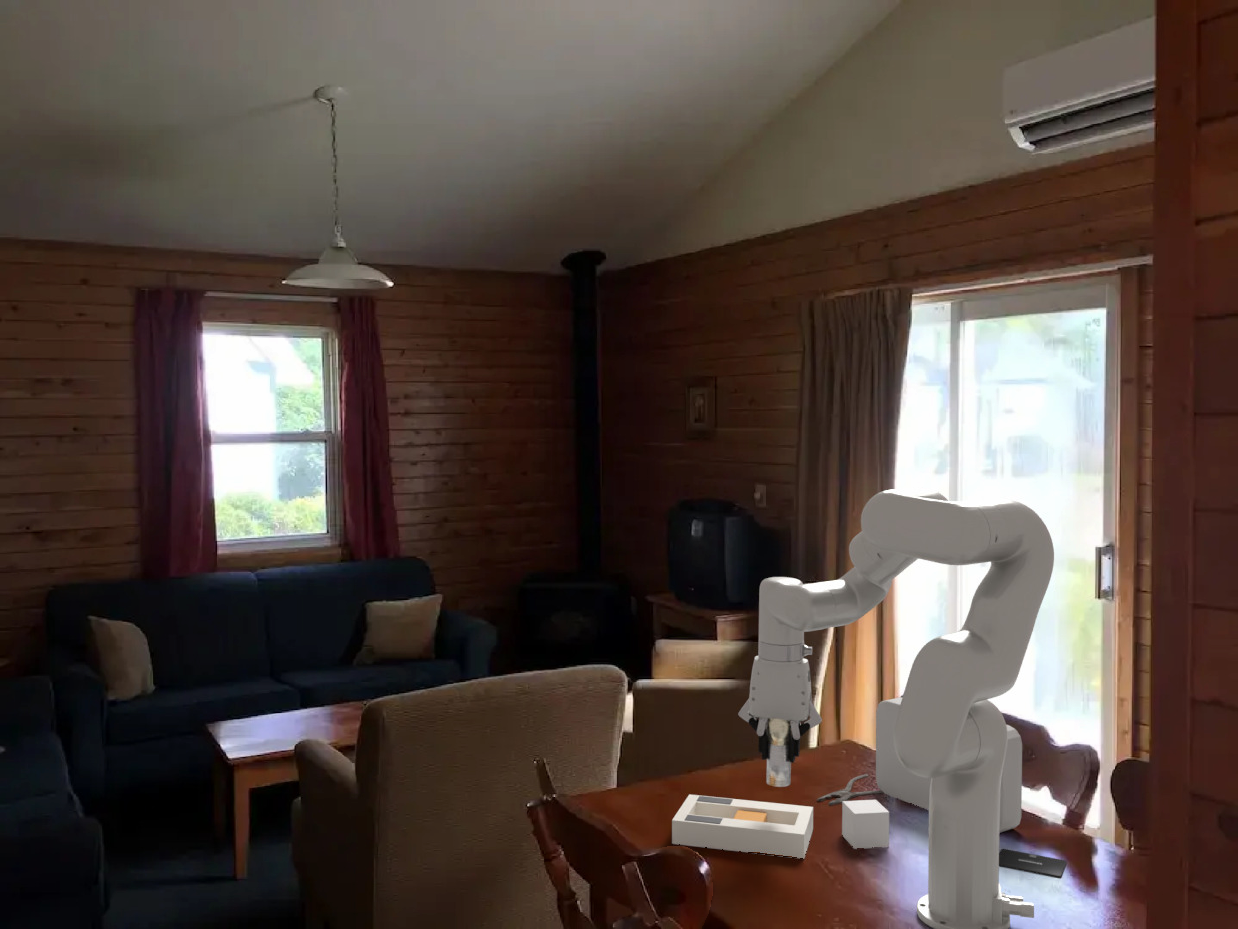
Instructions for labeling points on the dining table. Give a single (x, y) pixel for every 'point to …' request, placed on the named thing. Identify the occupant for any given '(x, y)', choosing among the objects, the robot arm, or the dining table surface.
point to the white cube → (865, 824)
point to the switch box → (743, 826)
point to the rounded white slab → (917, 788)
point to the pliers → (847, 793)
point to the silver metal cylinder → (778, 752)
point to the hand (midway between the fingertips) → (778, 757)
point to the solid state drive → (1031, 863)
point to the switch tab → (751, 816)
